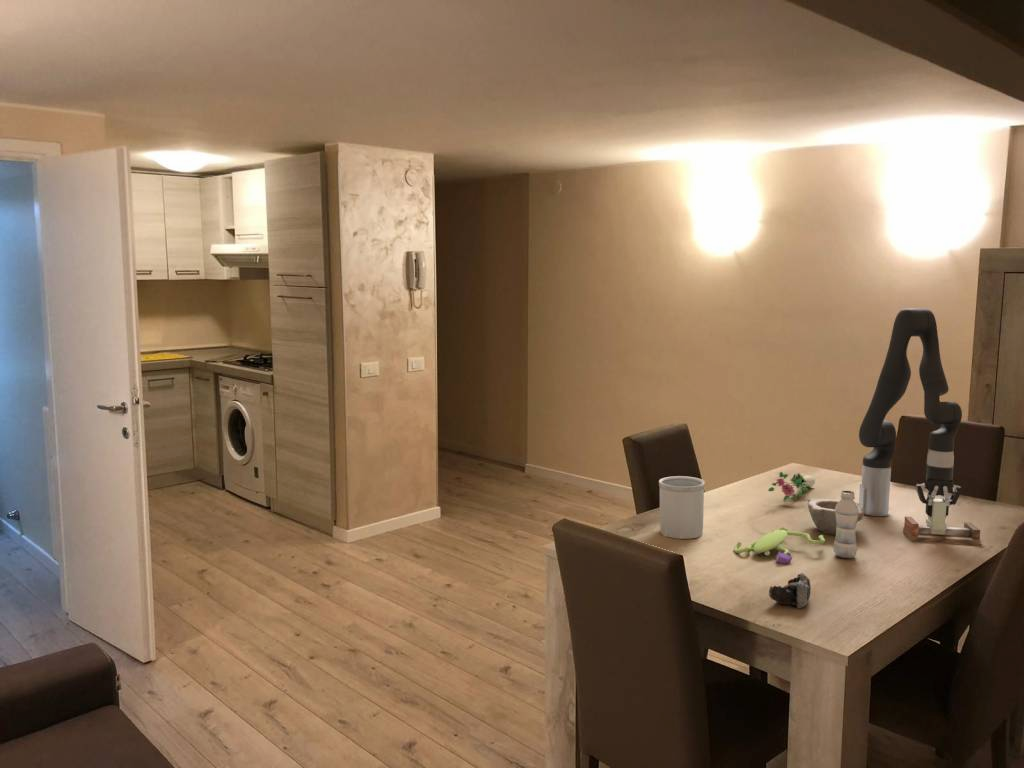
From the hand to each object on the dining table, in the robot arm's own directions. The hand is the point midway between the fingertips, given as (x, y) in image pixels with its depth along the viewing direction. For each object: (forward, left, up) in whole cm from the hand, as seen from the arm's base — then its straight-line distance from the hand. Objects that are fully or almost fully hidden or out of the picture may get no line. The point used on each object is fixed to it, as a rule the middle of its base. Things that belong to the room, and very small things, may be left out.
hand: (936, 516), depth 258 cm
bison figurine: (-54, -62, -8) cm, 82 cm away
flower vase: (-36, +45, -7) cm, 58 cm away
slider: (0, 0, -5) cm, 5 cm away
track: (+2, 0, -7) cm, 7 cm away
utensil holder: (-80, -9, -7) cm, 81 cm away
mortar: (-30, +2, -7) cm, 31 cm away
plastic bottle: (-32, -24, -7) cm, 41 cm away
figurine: (-51, -21, -8) cm, 55 cm away
